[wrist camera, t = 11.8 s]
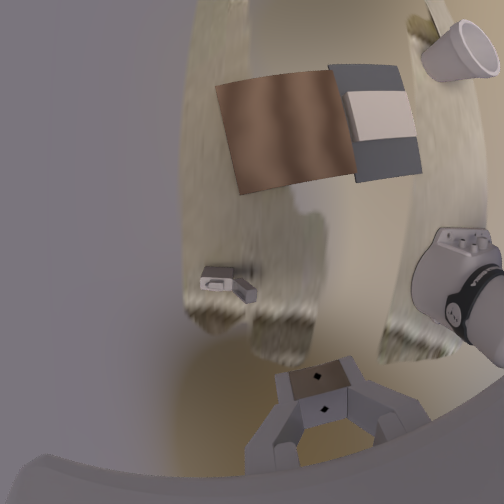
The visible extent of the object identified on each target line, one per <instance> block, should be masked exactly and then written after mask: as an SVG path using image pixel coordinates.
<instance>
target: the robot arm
mask: <svg viewBox="0 0 504 504" xmlns="http://www.w3.org/2000/svg"><path fill="white" fill-rule="evenodd" d="M447 234H448V236H447ZM412 299H413V302H414V305H415V307H416V308H417V309H418V310H419V311H420V312H422V313H424V314H426V315H428V316H430V318H431V319H432V321H433V322H435V323H436V324H440V323H441V324H442V325H444V326H445V327H447V328H448V329H450V330H451V331H453V332H455V333H456V334H457V335H458V336H459V337H460V338H462V340H463V341H464V342H467V343H468V344H469V345H474V346H475V347H476V348H477V349H478V350H479V351H481V352H482V353H483V354H484V355H485V356H486V357H487V358H488V359H489V360H490V361H491V362H493V364H495V365H496V366H497V367H500V368H504V271H503V270H502V258H501V253H500V250H499V249H498V247H496V246H495V245H493V244H492V241H491V236H490V234H489V231H488V230H486V229H479V228H440V229H439V230H438V232H437V234H436V236H435V238H434V241H433V243H432V245H431V246H430V248H429V249H428V250H427V251H426V252H425V254H424V255H423V257H422V258H421V260H420V261H419V263H418V265H417V268H416V270H415V273H414V276H413V281H412ZM288 373H289V374H288ZM275 381H276V388H277V394H278V401H279V404H277V405H275V406H274V407H273V409H272V410H271V412H270V413H269V415H268V416H267V417H266V419H265V420H264V422H263V423H262V425H261V426H260V428H259V429H258V431H257V432H256V433H255V435H254V436H253V437H252V439H251V440H250V441H249V443H248V444H247V445H246V447H245V475H244V476H231V477H209V478H208V477H207V478H191V477H190V478H189V477H165V476H153V475H143V474H135V473H127V472H121V471H115V470H110V469H104V468H99V467H95V466H90V465H86V464H82V463H78V462H74V461H71V460H67V459H64V458H61V457H57V456H54V455H50V454H43V455H40V456H39V457H37V458H35V459H34V460H32V461H30V462H29V463H27V464H26V465H24V466H23V467H22V468H21V469H20V470H19V472H18V474H17V476H16V478H15V480H14V482H13V485H12V487H11V489H10V492H9V494H8V497H7V500H6V503H5V504H504V376H502V377H501V378H500V379H498V380H497V381H496V382H494V383H493V384H492V385H490V386H489V387H488V388H486V389H485V390H483V391H482V392H480V393H479V394H477V395H476V396H475V397H473V398H471V399H470V400H468V401H467V402H465V403H463V404H462V405H460V406H458V407H457V408H455V409H453V410H452V411H450V412H448V413H446V414H444V415H443V416H441V417H439V418H437V419H435V420H433V421H431V419H430V418H429V416H428V415H427V413H426V412H425V410H424V409H423V407H422V406H421V404H420V403H419V401H418V400H416V399H414V398H411V397H409V396H406V395H404V394H401V393H399V392H396V391H394V390H392V389H389V388H387V387H384V386H382V385H380V384H377V383H375V382H372V381H370V380H368V381H365V379H364V377H363V375H362V374H361V372H360V370H359V368H358V366H357V365H356V363H355V361H354V359H353V358H352V356H347V357H344V358H340V359H338V360H335V361H331V362H327V363H324V364H320V365H317V366H312V367H308V368H303V369H299V370H294V371H289V372H285V373H280V374H275ZM344 418H348V419H349V420H350V421H352V422H353V423H355V424H356V425H358V426H359V427H360V428H362V429H363V430H365V431H366V432H368V433H370V434H371V435H373V436H374V437H375V439H374V443H373V447H371V448H369V449H366V450H363V451H360V452H357V453H354V454H351V455H348V456H344V457H340V458H337V459H333V460H330V461H326V462H322V463H318V464H313V465H309V466H304V467H300V463H299V458H298V454H297V449H296V447H297V445H298V443H299V441H300V439H301V436H302V434H303V432H304V429H307V428H310V427H314V426H318V425H321V424H325V423H329V422H332V421H336V420H340V419H344Z"/></svg>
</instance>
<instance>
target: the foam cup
mask: <svg viewBox="0 0 504 504" xmlns="http://www.w3.org/2000/svg"><path fill="white" fill-rule="evenodd" d="M421 61H422V64H423V67H424V69H425V70H426V72H427V74H428V75H429V76H430V77H431V78H432V79H434V80H436V81H438V82H447V81H454V80H462V79H471V78H490V77H494V76H497V75H498V73H499V72H500V61H499V58H498V56H497V53H496V50H495V48H494V46H493V45H492V43H491V41H490V40H489V38H488V37H487V36H486V34H485V33H484V32H483V31H482V30H481V29H480V28H479V27H478V26H477V25H475V24H474V23H473V22H471V21H469V20H465V19H463V20H461V21H459V22H457V23H455V24H454V25H453V26H451V27H450V30H449V31H447V32H446V33H445V34H444V35H443V36H442V37H441V38H439V39H438V40H437V41H436V42H435V43H434V44H433V45H432V46H430V47H429V48H428V49H427V50H426V51H425V52H424V53H423V54H422V57H421Z"/></svg>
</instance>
